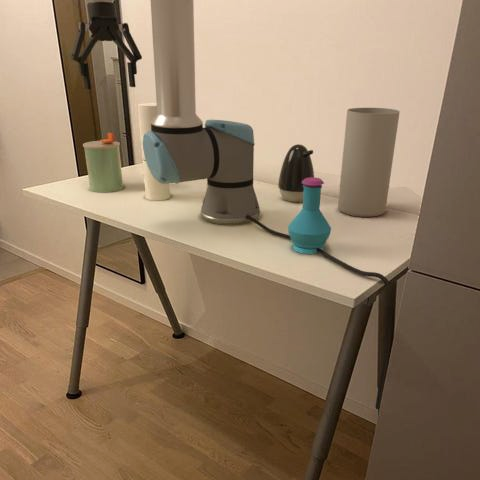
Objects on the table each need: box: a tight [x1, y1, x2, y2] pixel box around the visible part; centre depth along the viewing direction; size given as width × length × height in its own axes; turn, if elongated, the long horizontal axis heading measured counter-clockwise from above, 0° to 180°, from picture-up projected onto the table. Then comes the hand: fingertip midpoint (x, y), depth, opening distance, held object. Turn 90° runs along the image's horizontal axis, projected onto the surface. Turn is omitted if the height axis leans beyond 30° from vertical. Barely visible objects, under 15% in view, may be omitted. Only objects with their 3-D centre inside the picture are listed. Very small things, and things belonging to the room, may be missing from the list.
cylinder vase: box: [337, 107, 401, 218], centre depth 129 cm, size 12×12×25 cm
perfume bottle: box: [287, 176, 332, 255], centre depth 107 cm, size 9×9×15 cm
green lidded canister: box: [82, 140, 124, 193], centre depth 153 cm, size 11×11×13 cm
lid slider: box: [99, 132, 116, 143], centre depth 150 cm, size 4×3×2 cm
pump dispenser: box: [278, 143, 315, 203], centre depth 141 cm, size 10×10×15 cm
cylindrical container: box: [137, 102, 171, 201], centre depth 141 cm, size 7×7×25 cm
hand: (110, 88), depth 147 cm, fingers open, 13 cm apart
